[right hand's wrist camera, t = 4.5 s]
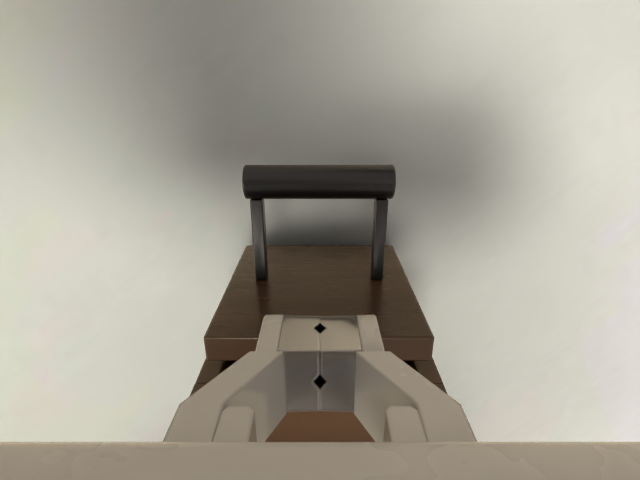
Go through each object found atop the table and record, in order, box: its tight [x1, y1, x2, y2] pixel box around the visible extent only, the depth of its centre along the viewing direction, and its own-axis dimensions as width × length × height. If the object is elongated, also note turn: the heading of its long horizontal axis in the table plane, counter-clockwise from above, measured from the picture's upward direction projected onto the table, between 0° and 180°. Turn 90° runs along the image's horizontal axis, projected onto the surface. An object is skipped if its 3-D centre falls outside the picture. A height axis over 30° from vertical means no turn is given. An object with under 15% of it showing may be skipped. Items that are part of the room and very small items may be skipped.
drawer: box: [204, 165, 434, 361], centre depth 22 cm, size 24×9×10 cm, turn 0°
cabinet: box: [190, 358, 448, 442], centre depth 24 cm, size 19×10×12 cm, turn 0°
